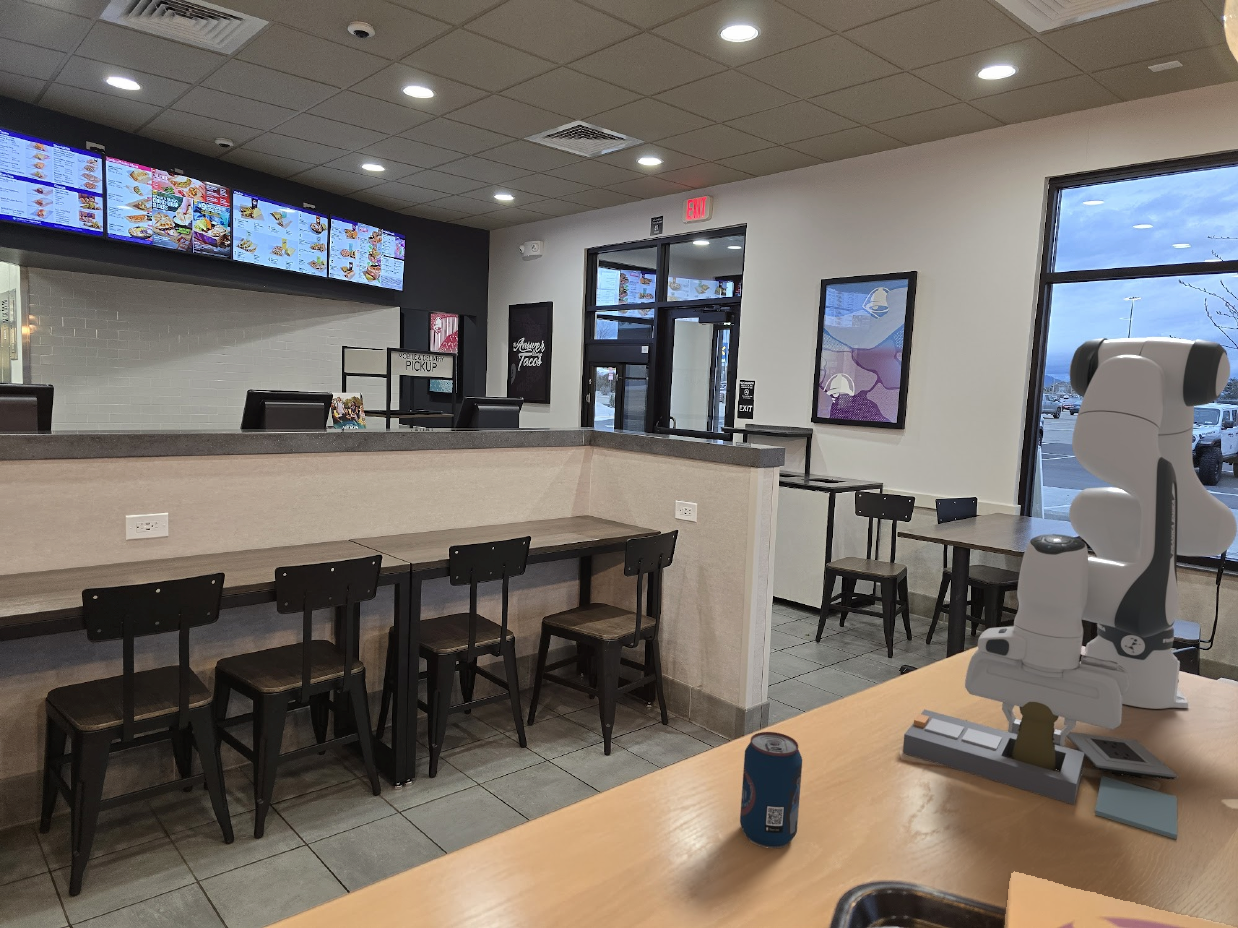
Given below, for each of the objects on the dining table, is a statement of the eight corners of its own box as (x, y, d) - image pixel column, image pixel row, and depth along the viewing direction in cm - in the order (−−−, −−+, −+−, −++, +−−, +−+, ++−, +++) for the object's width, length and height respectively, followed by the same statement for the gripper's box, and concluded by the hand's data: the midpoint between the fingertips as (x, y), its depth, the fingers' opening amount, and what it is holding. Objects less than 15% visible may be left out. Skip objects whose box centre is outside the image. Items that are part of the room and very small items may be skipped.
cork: (1046, 783, 112) (1054, 709, 111) (1003, 766, 116) (1010, 695, 115) (1062, 770, 116) (1070, 699, 115) (1019, 754, 120) (1027, 685, 119)
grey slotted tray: (922, 726, 131) (924, 704, 130) (1082, 771, 117) (1085, 747, 117) (902, 752, 121) (904, 728, 120) (1074, 804, 108) (1077, 778, 107)
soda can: (736, 817, 100) (742, 727, 99) (790, 820, 100) (797, 731, 99) (742, 849, 94) (749, 753, 92) (801, 853, 93) (808, 757, 92)
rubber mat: (1101, 779, 115) (1101, 775, 115) (1176, 800, 110) (1176, 796, 110) (1094, 814, 105) (1095, 810, 105) (1176, 839, 100) (1177, 834, 100)
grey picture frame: (1176, 789, 112) (1177, 773, 112) (1095, 778, 114) (1096, 762, 114) (1134, 752, 125) (1136, 738, 125) (1062, 743, 127) (1064, 729, 127)
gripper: (1131, 658, 111) (1120, 751, 112) (975, 626, 122) (967, 711, 124) (1129, 671, 106) (1118, 769, 107) (967, 637, 117) (958, 725, 119)
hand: (1036, 738), depth 116 cm, fingers closed on cork, 4 cm apart
